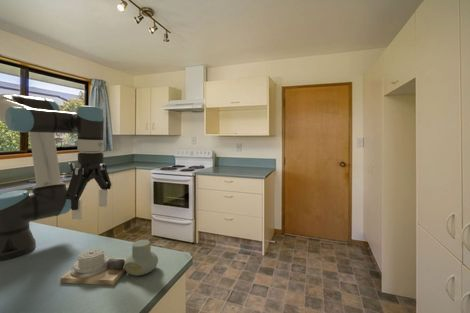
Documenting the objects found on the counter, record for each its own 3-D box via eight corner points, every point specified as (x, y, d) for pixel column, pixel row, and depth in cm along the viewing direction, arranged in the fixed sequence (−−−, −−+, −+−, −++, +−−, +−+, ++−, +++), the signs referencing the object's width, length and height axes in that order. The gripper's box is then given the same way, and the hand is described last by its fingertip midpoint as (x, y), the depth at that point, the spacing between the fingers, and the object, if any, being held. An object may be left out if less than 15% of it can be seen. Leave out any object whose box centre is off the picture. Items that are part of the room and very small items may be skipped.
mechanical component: (66, 272, 74) (93, 275, 73) (65, 259, 74) (93, 262, 73) (89, 256, 84) (114, 259, 83) (89, 245, 84) (114, 247, 82)
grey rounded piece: (119, 274, 77) (119, 246, 77) (135, 262, 86) (135, 236, 85) (148, 280, 75) (148, 250, 74) (161, 266, 83) (162, 240, 82)
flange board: (60, 282, 72) (59, 268, 72) (87, 260, 85) (87, 248, 85) (113, 285, 72) (113, 270, 72) (132, 262, 85) (132, 250, 84)
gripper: (74, 155, 66) (75, 226, 68) (121, 150, 91) (120, 202, 93) (49, 154, 66) (50, 224, 68) (102, 149, 91) (102, 201, 93)
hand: (91, 212), depth 80 cm, fingers open, 13 cm apart
